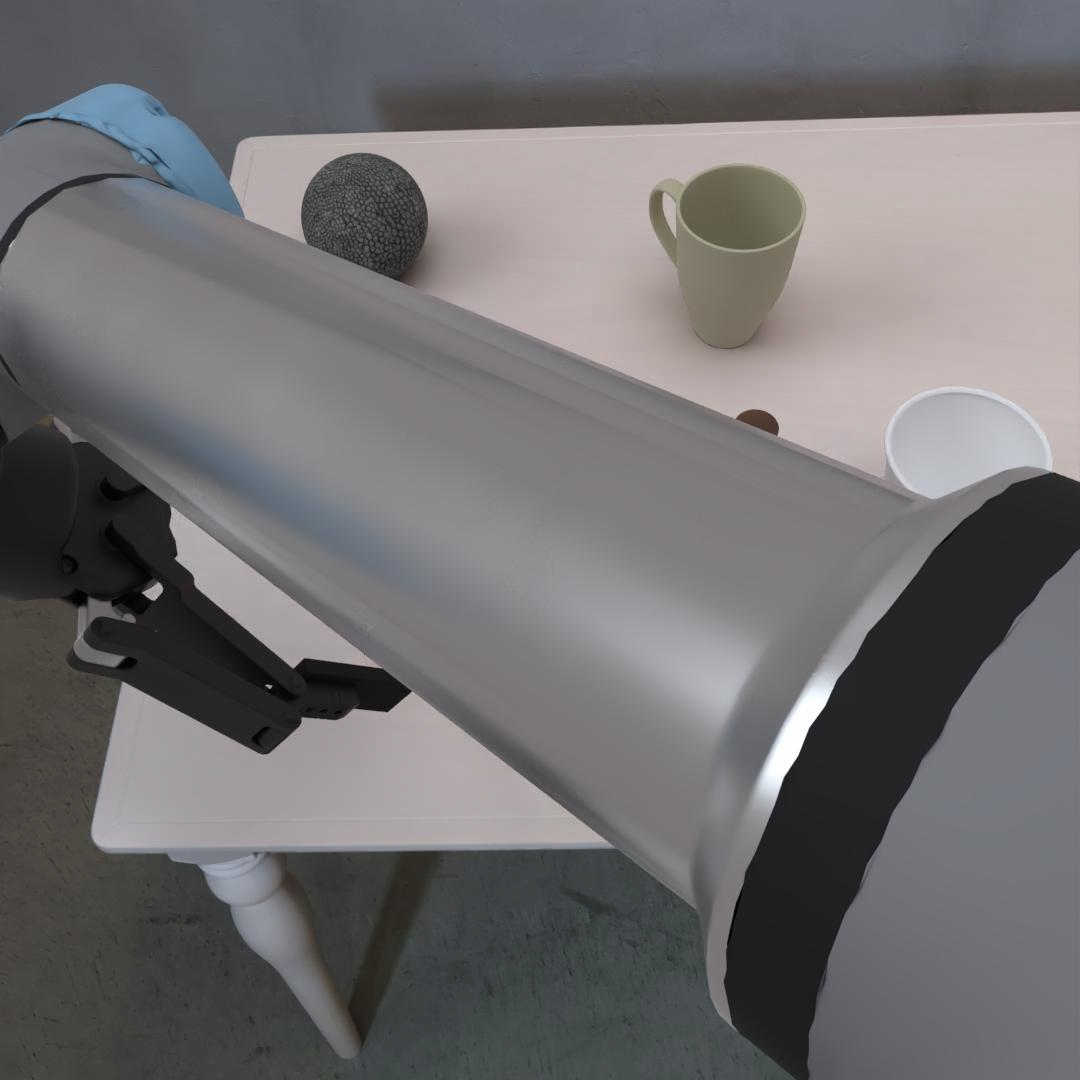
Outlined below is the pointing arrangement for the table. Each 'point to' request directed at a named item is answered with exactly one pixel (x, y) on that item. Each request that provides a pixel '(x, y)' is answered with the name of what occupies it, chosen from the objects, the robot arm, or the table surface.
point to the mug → (730, 245)
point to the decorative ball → (366, 213)
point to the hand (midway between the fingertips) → (373, 581)
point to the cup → (960, 440)
